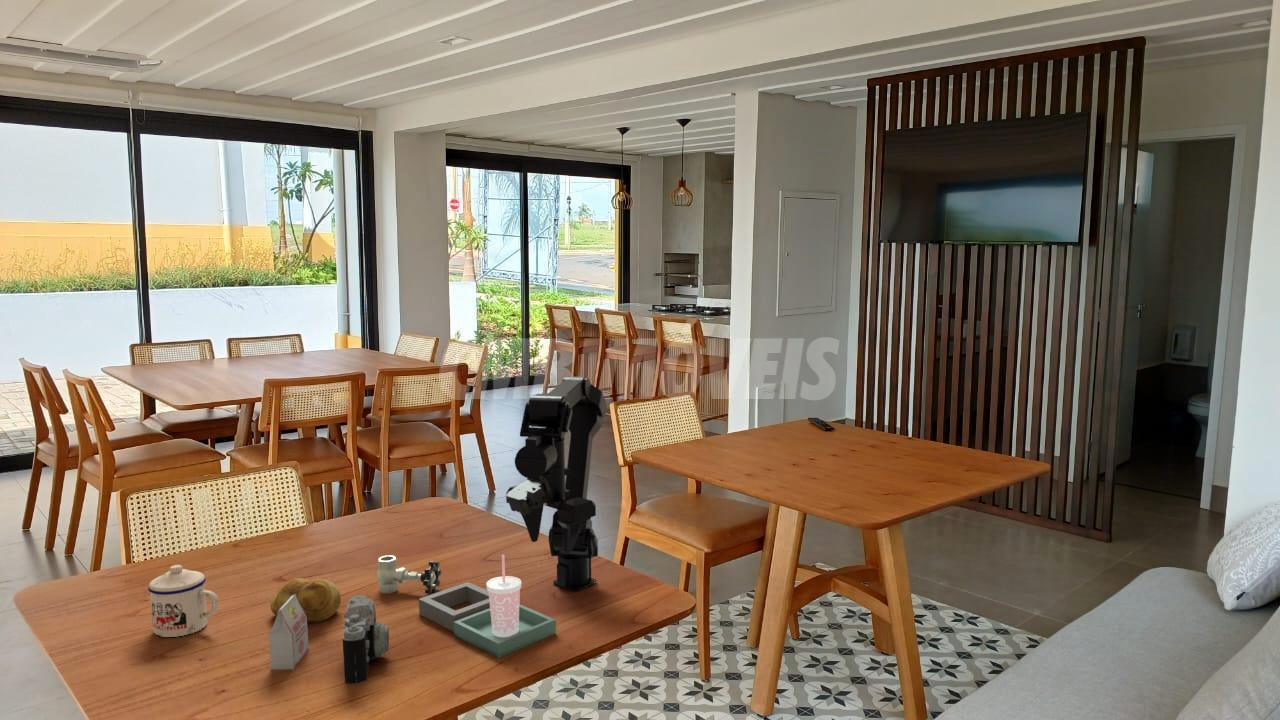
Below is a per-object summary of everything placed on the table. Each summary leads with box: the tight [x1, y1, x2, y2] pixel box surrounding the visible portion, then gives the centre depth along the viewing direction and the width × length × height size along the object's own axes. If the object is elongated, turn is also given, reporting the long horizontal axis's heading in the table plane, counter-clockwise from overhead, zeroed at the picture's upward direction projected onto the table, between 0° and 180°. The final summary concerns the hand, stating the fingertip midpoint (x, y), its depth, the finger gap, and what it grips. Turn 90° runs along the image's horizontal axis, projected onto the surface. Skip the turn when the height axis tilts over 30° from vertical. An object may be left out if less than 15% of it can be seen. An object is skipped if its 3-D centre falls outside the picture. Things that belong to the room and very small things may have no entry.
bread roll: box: [270, 577, 342, 624], centre depth 164 cm, size 13×10×8 cm
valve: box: [376, 555, 442, 595], centre depth 175 cm, size 7×7×12 cm
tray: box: [453, 603, 557, 659], centre depth 155 cm, size 13×13×2 cm
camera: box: [342, 594, 390, 685], centre depth 145 cm, size 15×7×10 cm, turn 14°
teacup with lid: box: [148, 564, 219, 637], centre depth 158 cm, size 12×9×12 cm
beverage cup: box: [485, 554, 522, 637], centre depth 154 cm, size 6×6×14 cm
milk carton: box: [268, 594, 309, 670], centre depth 146 cm, size 4×7×10 cm, turn 1°
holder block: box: [418, 581, 490, 632], centre depth 164 cm, size 11×11×3 cm
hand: (550, 547), depth 162 cm, fingers open, 9 cm apart
